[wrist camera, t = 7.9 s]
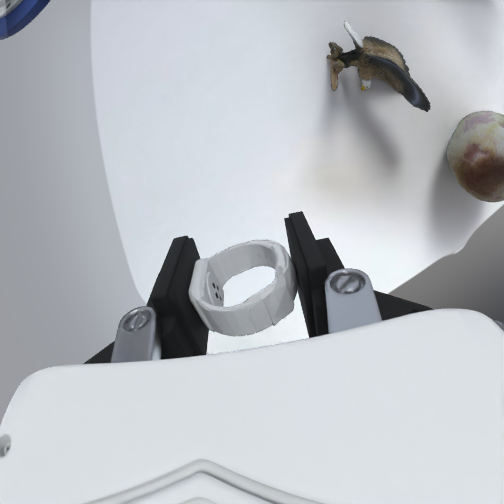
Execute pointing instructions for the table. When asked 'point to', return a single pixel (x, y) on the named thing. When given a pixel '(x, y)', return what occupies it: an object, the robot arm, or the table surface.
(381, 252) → the table surface
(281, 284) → the smartwatch
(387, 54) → the eagle figurine
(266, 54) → the table surface
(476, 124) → the fruit
